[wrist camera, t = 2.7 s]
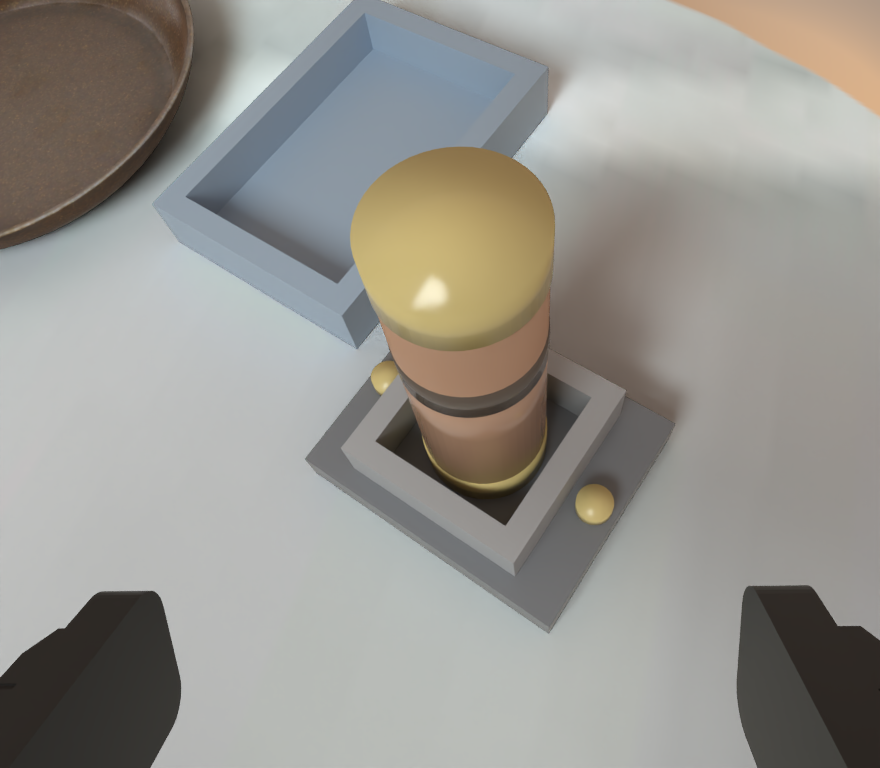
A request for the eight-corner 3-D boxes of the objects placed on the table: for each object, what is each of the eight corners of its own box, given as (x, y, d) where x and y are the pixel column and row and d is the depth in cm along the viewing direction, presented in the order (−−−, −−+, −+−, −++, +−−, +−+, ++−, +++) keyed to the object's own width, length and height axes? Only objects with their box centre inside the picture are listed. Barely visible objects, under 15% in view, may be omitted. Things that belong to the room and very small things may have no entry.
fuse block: (316, 472, 27) (287, 438, 24) (440, 313, 30) (429, 262, 27) (548, 633, 24) (550, 618, 21) (668, 439, 26) (686, 399, 23)
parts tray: (179, 241, 33) (151, 203, 31) (371, 39, 37) (360, -8, 35) (357, 349, 29) (341, 315, 27) (547, 113, 34) (548, 66, 31)
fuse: (404, 458, 26) (309, 255, 15) (470, 368, 27) (428, 120, 16) (503, 523, 24) (477, 350, 14) (569, 425, 25) (594, 195, 15)
